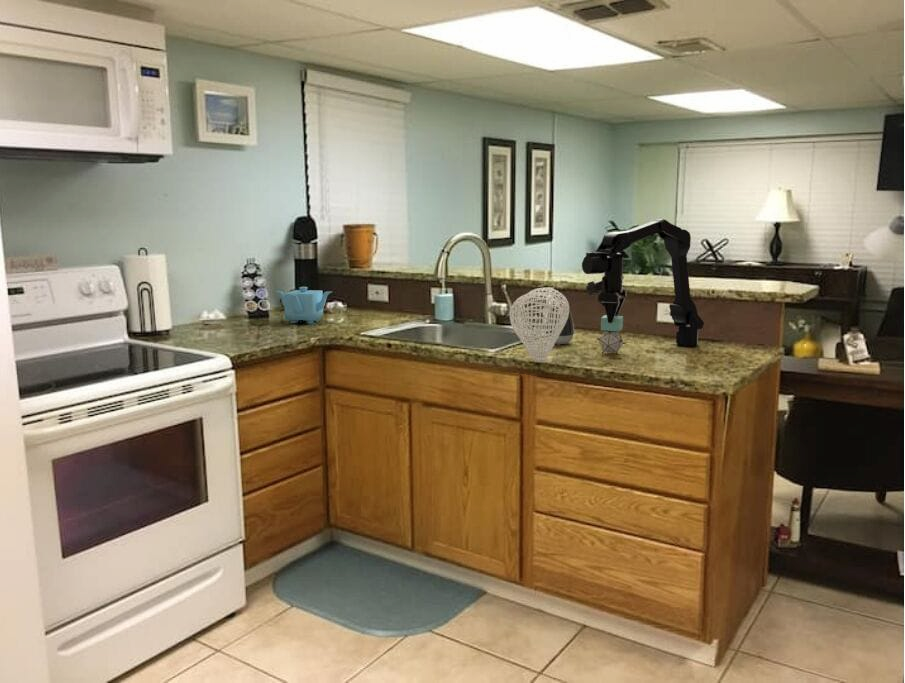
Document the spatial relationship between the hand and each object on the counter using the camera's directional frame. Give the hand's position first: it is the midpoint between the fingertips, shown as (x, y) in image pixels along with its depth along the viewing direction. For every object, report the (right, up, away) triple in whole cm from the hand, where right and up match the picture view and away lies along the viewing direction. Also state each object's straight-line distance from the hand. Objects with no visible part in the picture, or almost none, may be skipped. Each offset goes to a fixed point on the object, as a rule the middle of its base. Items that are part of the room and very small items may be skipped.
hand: (612, 321), depth 251 cm
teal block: (0, -3, 0) cm, 3 cm away
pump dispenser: (-14, -7, +20) cm, 26 cm away
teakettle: (-113, +1, +72) cm, 134 cm away
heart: (-25, -13, -12) cm, 30 cm away
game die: (0, -11, +2) cm, 11 cm away
